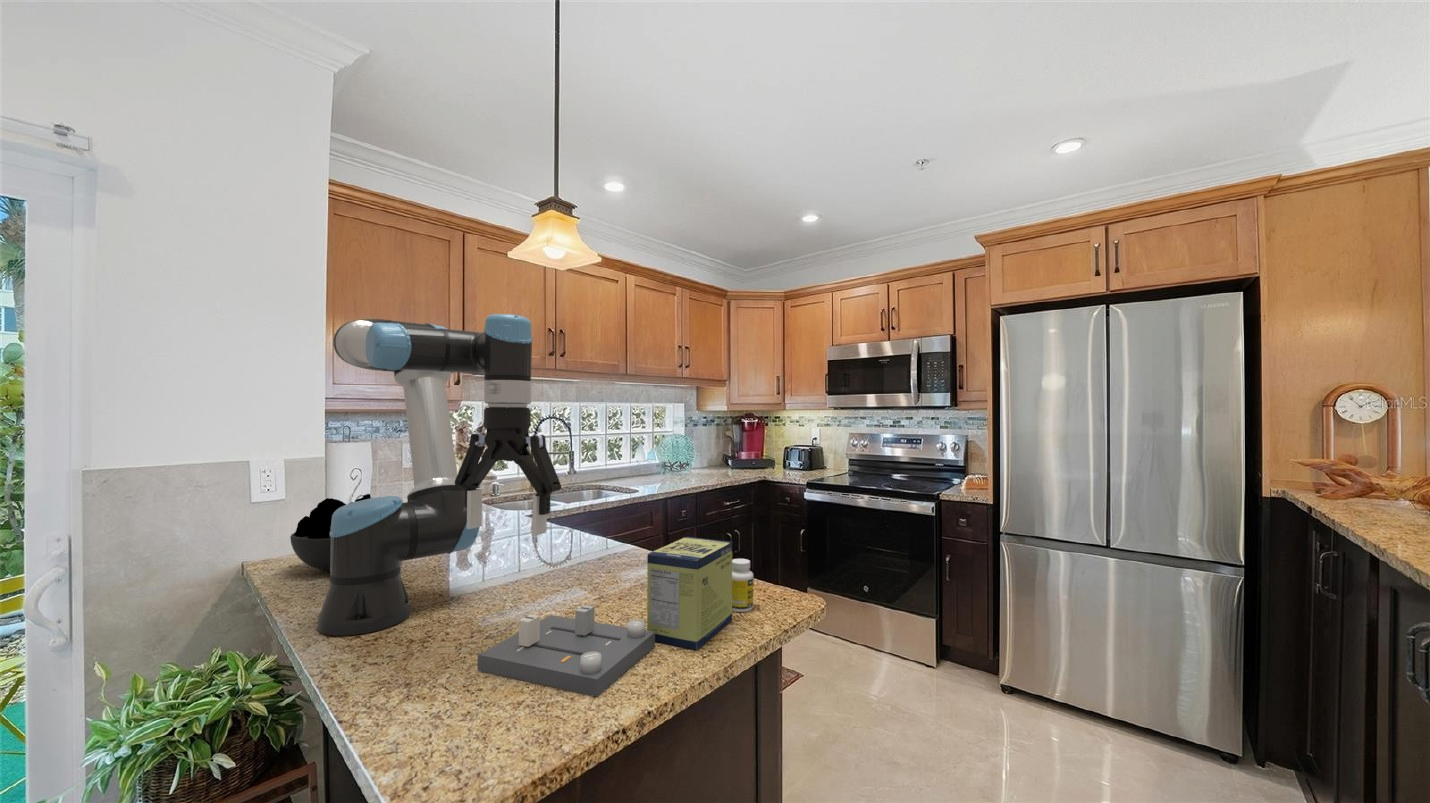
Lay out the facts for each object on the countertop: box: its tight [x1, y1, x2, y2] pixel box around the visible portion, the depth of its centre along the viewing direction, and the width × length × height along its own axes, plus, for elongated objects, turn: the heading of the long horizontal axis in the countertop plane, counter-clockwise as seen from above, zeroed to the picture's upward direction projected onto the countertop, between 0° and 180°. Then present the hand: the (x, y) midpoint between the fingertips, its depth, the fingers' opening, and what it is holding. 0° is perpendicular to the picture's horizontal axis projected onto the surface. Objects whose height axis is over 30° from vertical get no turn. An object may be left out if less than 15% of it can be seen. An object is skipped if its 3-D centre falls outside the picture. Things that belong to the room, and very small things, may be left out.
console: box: [477, 614, 656, 698], centre depth 90 cm, size 22×18×5 cm
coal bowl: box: [289, 493, 372, 572], centre depth 141 cm, size 20×20×19 cm
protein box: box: [646, 536, 733, 651], centre depth 102 cm, size 10×16×16 cm
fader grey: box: [574, 604, 595, 636], centre depth 94 cm, size 2×3×4 cm
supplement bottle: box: [732, 558, 754, 613], centre depth 113 cm, size 5×5×10 cm
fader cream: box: [518, 613, 541, 647], centre depth 90 cm, size 2×3×4 cm
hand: (506, 530), depth 93 cm, fingers open, 13 cm apart
